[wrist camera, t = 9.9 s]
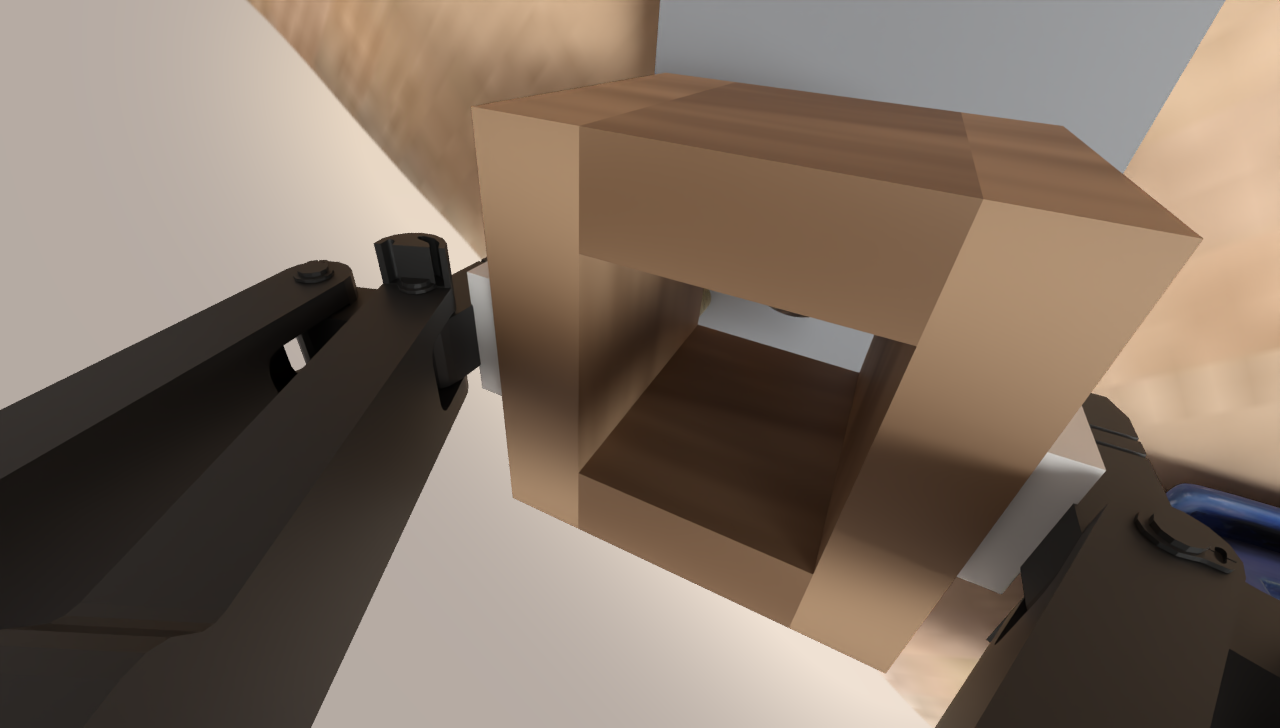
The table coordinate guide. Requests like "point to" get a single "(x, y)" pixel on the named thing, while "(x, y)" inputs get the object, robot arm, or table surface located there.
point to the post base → (938, 83)
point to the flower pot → (1238, 529)
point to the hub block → (811, 286)
